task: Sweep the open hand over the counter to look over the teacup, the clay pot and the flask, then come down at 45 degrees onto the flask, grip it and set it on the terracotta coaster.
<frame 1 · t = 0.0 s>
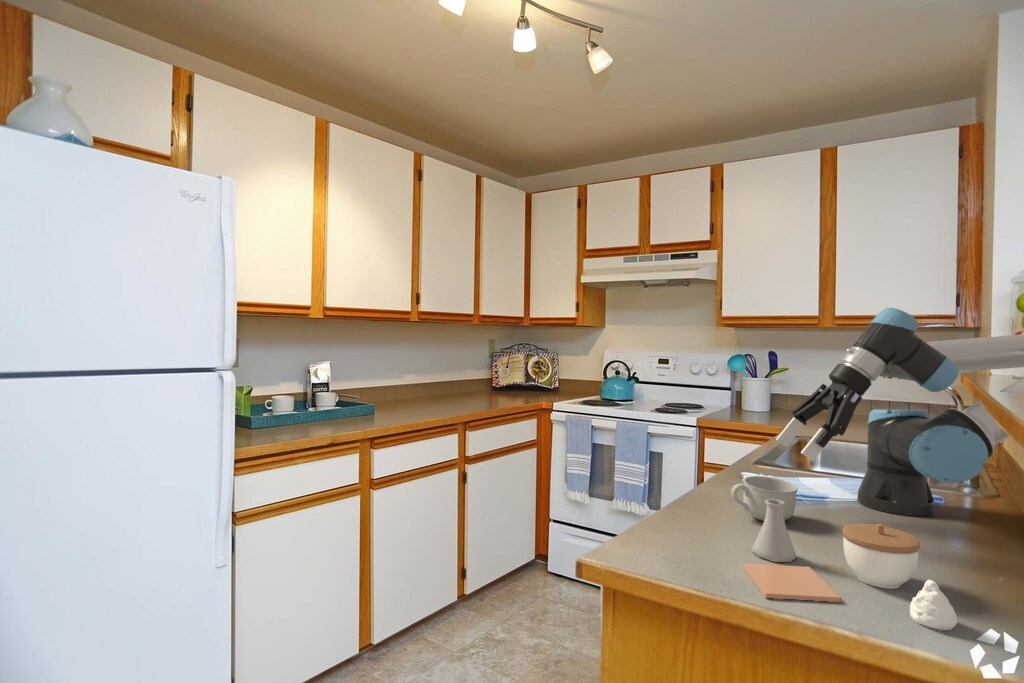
hand: (793, 450, 123), 15 cm above the counter, tool tilted 35°, fingers open, 13 cm apart
flask: (773, 556, 104), on the counter
lidded jar: (878, 581, 94), on the counter
garlic bulb: (932, 624, 81), on the counter
teacup: (761, 518, 124), on the counter
coaster: (788, 584, 92), on the counter
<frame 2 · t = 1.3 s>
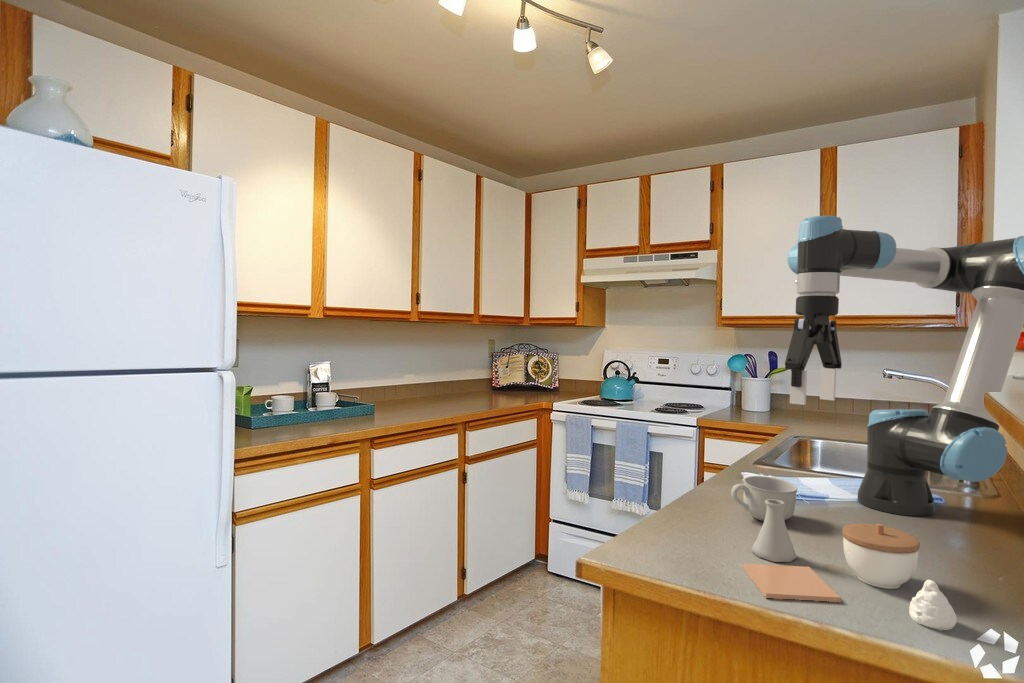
hand: (812, 401, 113), 27 cm above the counter, tool pointing down, fingers open, 13 cm apart
nothing on the counter moved.
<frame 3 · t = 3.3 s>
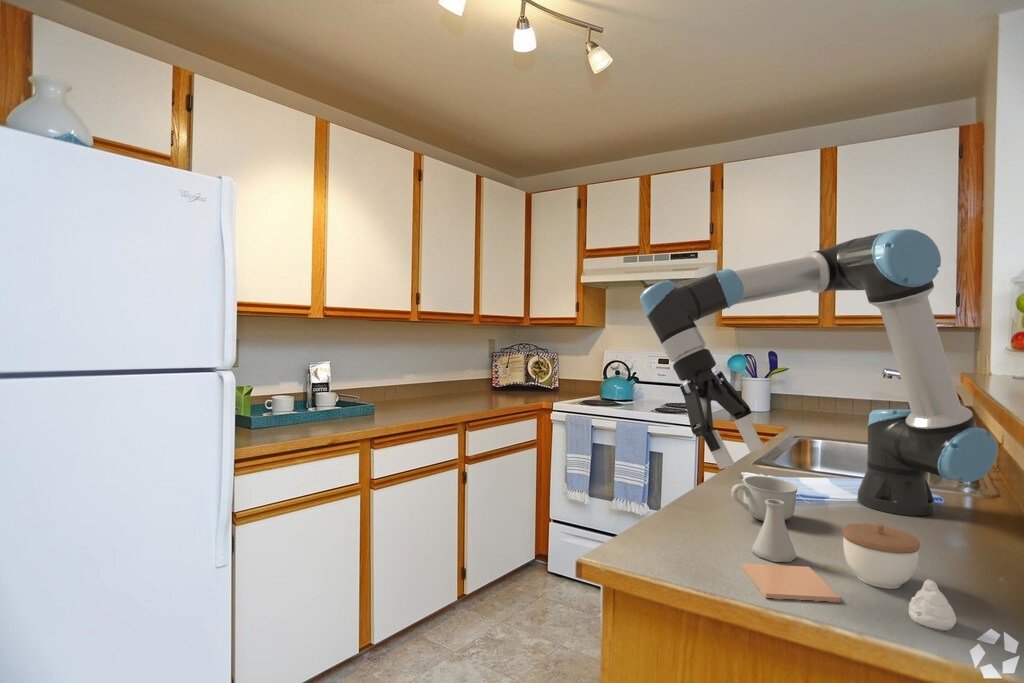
hand: (742, 457, 105), 18 cm above the counter, tool tilted 30°, fingers open, 13 cm apart
nothing on the counter moved.
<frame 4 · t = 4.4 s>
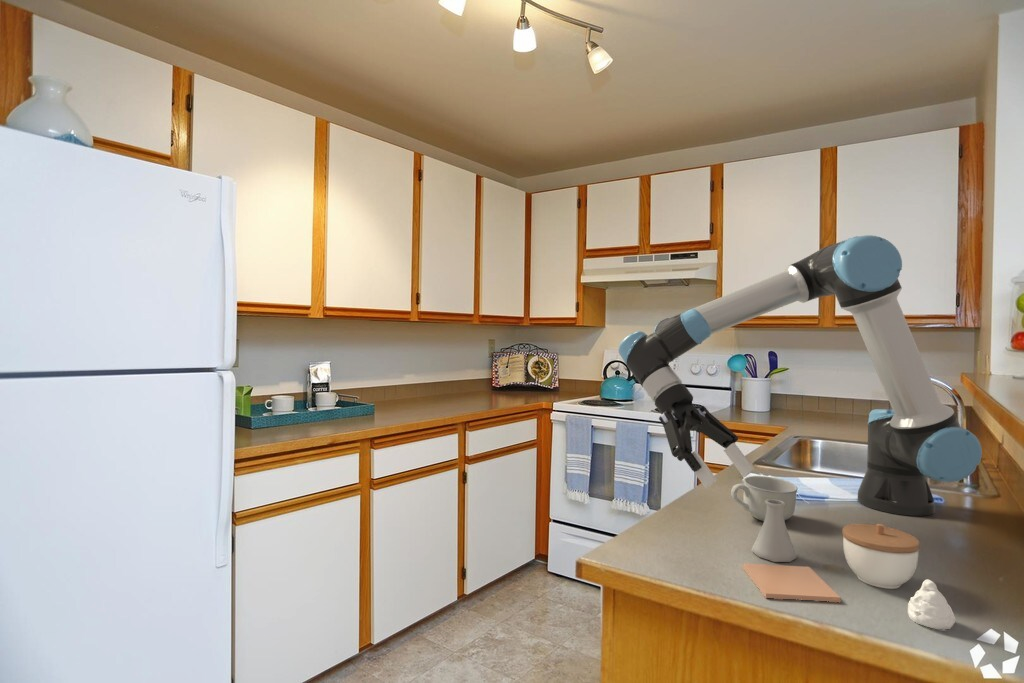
hand: (731, 478, 109), 12 cm above the counter, tool tilted 45°, fingers open, 13 cm apart
nothing on the counter moved.
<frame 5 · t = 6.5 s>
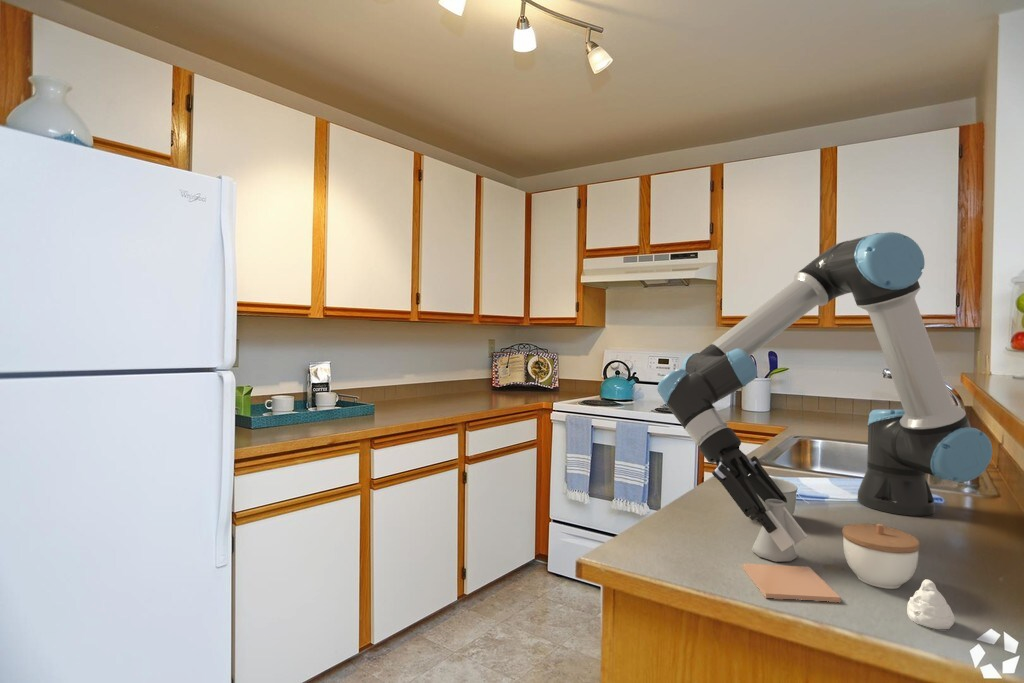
hand: (794, 543, 101), 3 cm above the counter, tool tilted 45°, fingers closed on flask, 4 cm apart
flask: (773, 556, 104), on the counter, touching gripper
everything else where it was.
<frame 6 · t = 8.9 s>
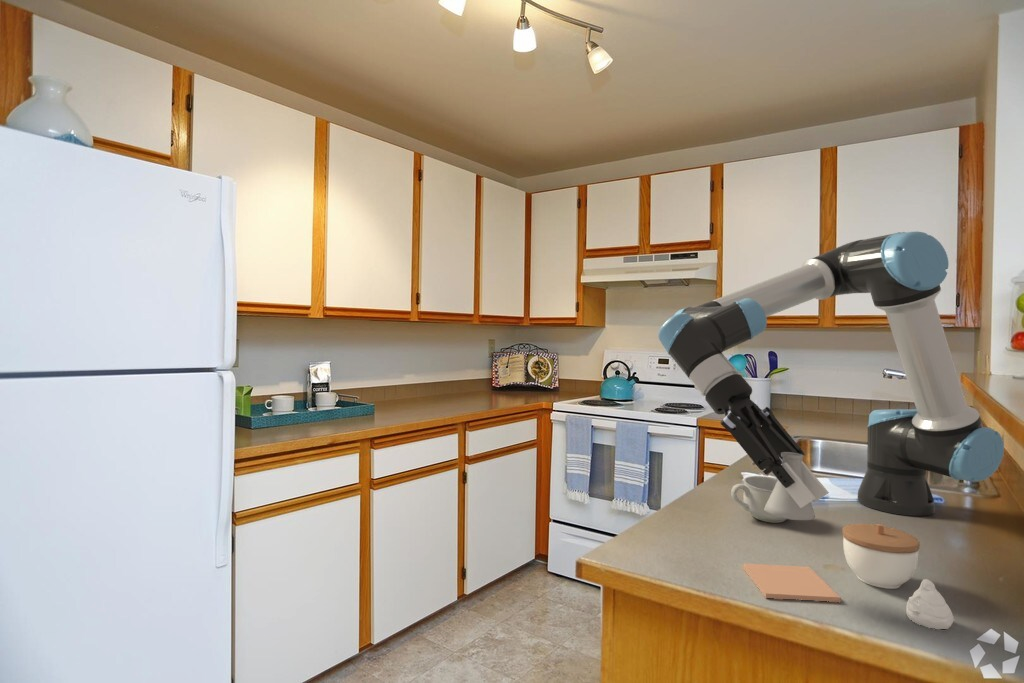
hand: (814, 500, 89), 15 cm above the counter, tool tilted 45°, fingers closed on flask, 4 cm apart
flask: (789, 516, 92), point 11 cm above the counter, touching gripper
everything else where it was.
when the fingers open (5 cm above the counter, at t = 10.7 s): flask drops 1 cm, resting on coaster.
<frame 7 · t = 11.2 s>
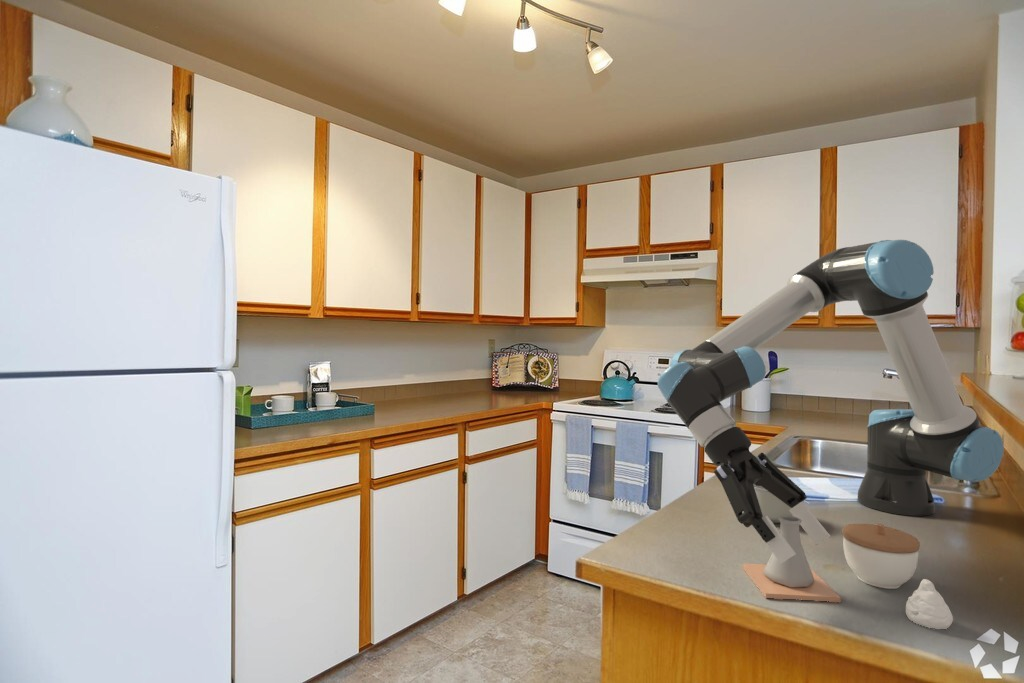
hand: (806, 549, 90), 7 cm above the counter, tool tilted 45°, fingers open, 11 cm apart
flask: (788, 580, 92), point 1 cm above the counter, touching coaster
everything else where it was.
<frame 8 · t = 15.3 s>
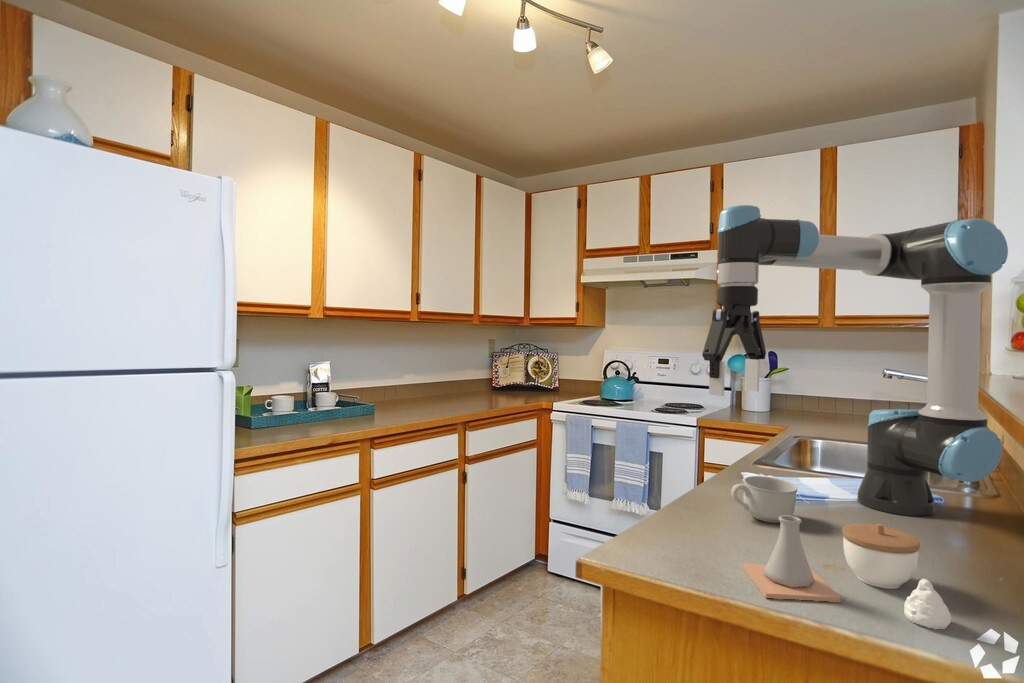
hand: (734, 393, 112), 29 cm above the counter, tool pointing down, fingers open, 13 cm apart
nothing on the counter moved.
at the end: flask inside the target area on the coaster (0.2 cm from its centre), point 0.6 cm above the coaster's base; flask tilted 0°; the gripper is holding nothing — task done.
